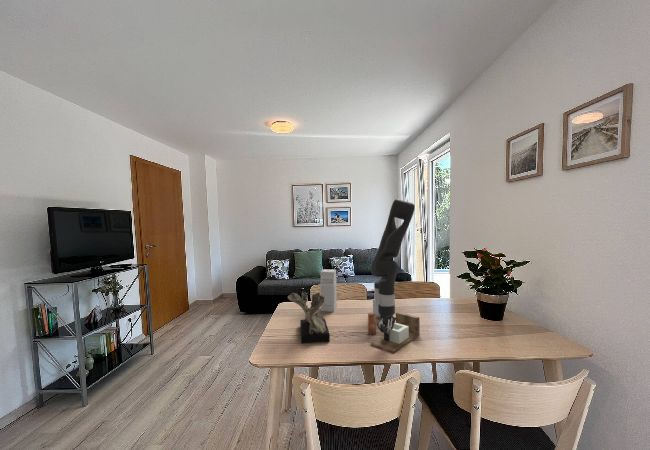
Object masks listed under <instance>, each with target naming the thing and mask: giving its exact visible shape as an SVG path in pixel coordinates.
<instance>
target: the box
mask: <svg viewBox="0 0 650 450" xmlns="http://www.w3.org/2000/svg"><path fill="white" fill-rule="evenodd" d="M319 273H320V296H321V295H322V296H323V297H325V299H324V303H323V304H322V305H321V307H320V310H321V312H331V313H333V312H335V311H336V310H337V308H338V303H337V301H338V300H337V269H332V268H331V269H322V270H320V272H319Z"/></svg>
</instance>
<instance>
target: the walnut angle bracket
mask: <svg viewBox="0 0 650 450" xmlns="http://www.w3.org/2000/svg"><path fill="white" fill-rule="evenodd" d="M395 318H396V320H395V323H399V324H402V325H406V326H409V338H407V339H406V340H404V341H403V342H402V343H400V344H398V343H395V342H392V341H385V340H384V339H383V338H382V336H380V337H378V338H377V339H375V340H372V341H371V342H370V346H372V347H375V348H378V349H380V350H383V351H386V352H389V353H392V354H395V353H397V352H398V351H399V350H401V349H402V348H403V347H405V346H406V345H408V344H410V343H411V342H412V341H414V340H415V339H416V338H418V337H420V335H421V334H420V332H421V331H420V330H421V327H420V322H421V321H420V316H416V315H411V314H408V313H404V312H399V311H396V312H395Z"/></svg>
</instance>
